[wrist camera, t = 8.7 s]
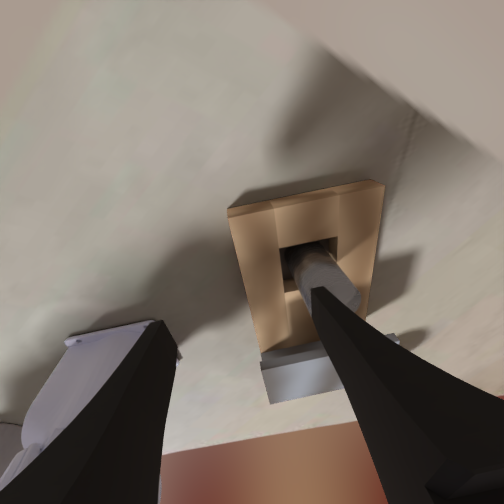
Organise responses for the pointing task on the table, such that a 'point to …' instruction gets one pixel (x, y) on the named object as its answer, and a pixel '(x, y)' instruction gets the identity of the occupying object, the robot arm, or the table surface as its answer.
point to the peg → (320, 274)
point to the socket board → (283, 284)
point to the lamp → (9, 444)
